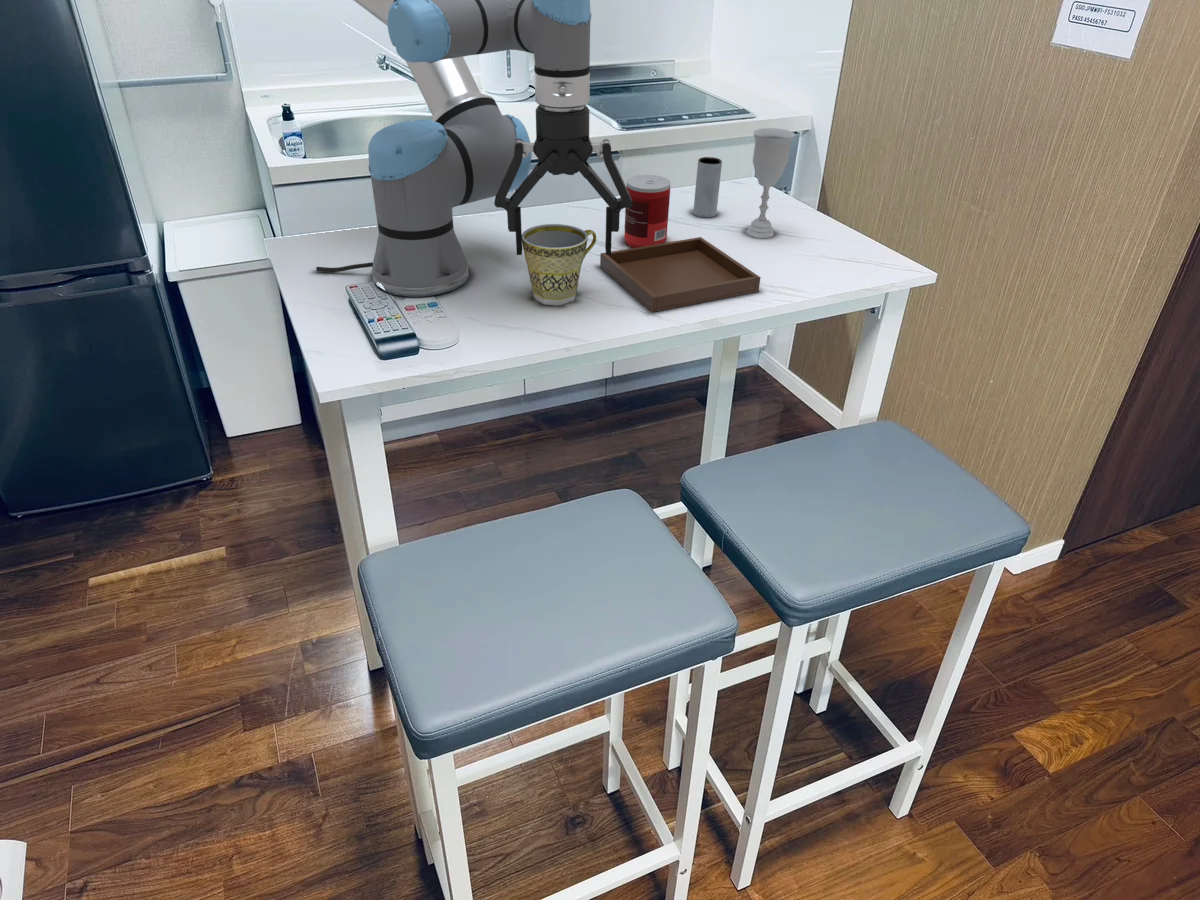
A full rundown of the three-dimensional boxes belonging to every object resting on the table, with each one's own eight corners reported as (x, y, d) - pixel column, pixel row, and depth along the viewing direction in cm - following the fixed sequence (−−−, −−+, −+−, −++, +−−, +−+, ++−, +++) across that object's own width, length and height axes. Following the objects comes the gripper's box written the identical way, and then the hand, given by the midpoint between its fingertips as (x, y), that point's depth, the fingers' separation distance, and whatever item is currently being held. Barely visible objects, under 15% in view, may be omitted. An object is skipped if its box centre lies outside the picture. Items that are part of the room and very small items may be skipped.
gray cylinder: (704, 208, 167) (709, 155, 161) (721, 214, 164) (727, 161, 158) (688, 212, 164) (693, 159, 158) (704, 219, 161) (710, 165, 155)
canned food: (667, 235, 154) (671, 175, 148) (665, 252, 148) (670, 190, 141) (625, 232, 155) (628, 173, 148) (622, 249, 148) (624, 187, 142)
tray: (651, 312, 128) (652, 297, 127) (599, 267, 142) (600, 253, 140) (758, 291, 135) (760, 277, 134) (699, 250, 149) (700, 236, 147)
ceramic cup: (548, 316, 126) (547, 253, 120) (510, 293, 132) (508, 232, 127) (614, 294, 133) (616, 234, 127) (575, 273, 139) (576, 215, 133)
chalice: (749, 241, 153) (763, 139, 142) (734, 228, 158) (746, 129, 148) (786, 237, 155) (802, 137, 144) (770, 224, 160) (784, 127, 149)
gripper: (469, 111, 112) (480, 261, 125) (654, 112, 114) (647, 260, 126) (474, 98, 119) (484, 242, 131) (649, 99, 120) (642, 242, 132)
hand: (563, 251), depth 128 cm, fingers open, 13 cm apart
